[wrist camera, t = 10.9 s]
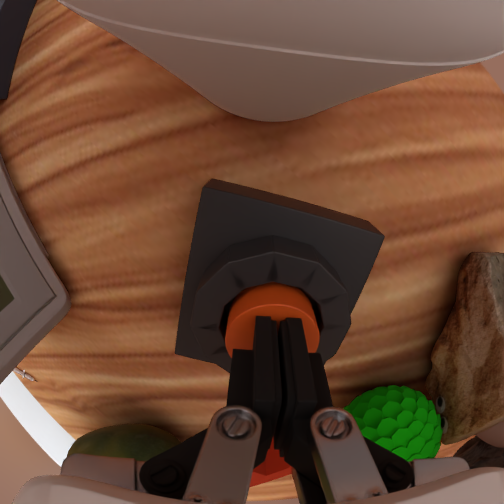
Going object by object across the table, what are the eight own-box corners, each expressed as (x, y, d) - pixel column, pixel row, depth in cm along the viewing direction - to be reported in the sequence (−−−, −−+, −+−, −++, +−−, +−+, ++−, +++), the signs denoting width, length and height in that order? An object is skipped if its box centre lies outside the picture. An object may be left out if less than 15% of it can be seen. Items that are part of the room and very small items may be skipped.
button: (239, 271, 11) (236, 294, 10) (325, 290, 12) (334, 314, 10) (221, 339, 13) (217, 366, 11) (296, 354, 13) (300, 380, 12)
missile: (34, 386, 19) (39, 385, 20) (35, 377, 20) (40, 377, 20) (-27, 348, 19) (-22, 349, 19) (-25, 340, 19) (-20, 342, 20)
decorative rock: (508, 457, 6) (421, 446, 16) (566, 409, 6) (477, 420, 16) (465, 241, 12) (398, 308, 22) (523, 232, 12) (453, 296, 22)
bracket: (308, 426, 21) (268, 403, 19) (314, 464, 17) (270, 446, 16) (216, 465, 24) (176, 446, 22) (213, 495, 20) (170, 479, 19)
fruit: (85, 432, 23) (56, 502, 14) (87, 371, 19) (35, 472, 9) (183, 471, 25) (171, 545, 16) (224, 426, 20) (214, 537, 11)
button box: (211, 178, 13) (193, 195, 10) (368, 221, 14) (402, 252, 10) (182, 329, 17) (166, 377, 13) (310, 355, 17) (319, 404, 14)
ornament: (303, 393, 18) (318, 524, 9) (409, 342, 17) (472, 463, 8) (340, 436, 21) (357, 533, 12) (424, 397, 19) (463, 489, 10)
